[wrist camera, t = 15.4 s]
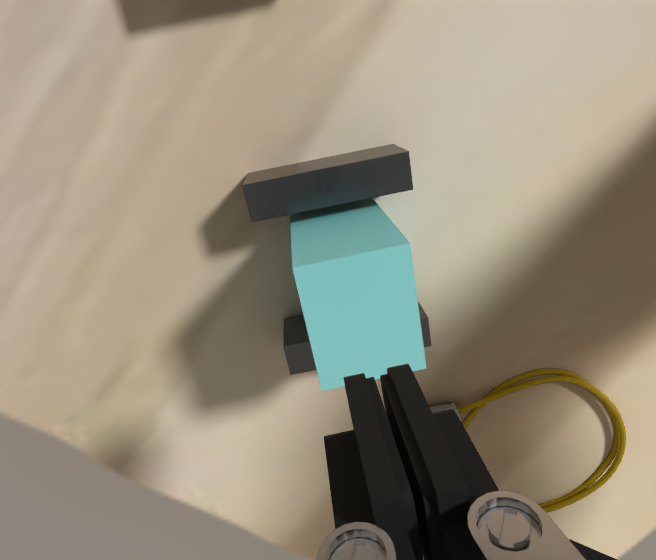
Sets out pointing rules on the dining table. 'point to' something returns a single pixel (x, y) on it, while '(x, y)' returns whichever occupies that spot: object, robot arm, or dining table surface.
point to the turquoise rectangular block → (356, 291)
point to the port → (323, 191)
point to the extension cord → (567, 377)
